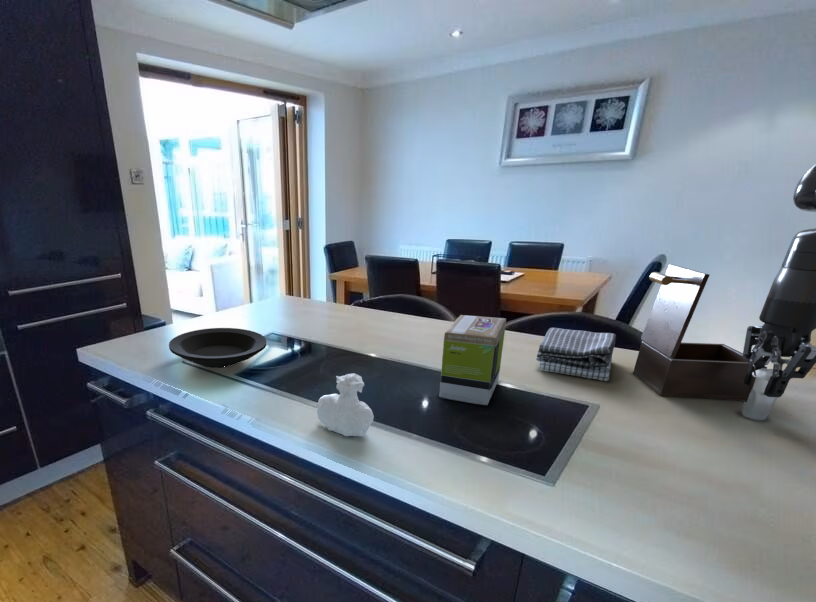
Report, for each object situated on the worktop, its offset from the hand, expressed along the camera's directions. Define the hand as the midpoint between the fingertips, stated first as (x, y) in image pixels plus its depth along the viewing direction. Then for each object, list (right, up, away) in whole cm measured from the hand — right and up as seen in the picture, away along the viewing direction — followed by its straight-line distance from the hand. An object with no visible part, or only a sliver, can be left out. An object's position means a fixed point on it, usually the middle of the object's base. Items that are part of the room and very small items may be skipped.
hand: (761, 390), depth 79 cm
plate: (-105, +7, +38) cm, 112 cm away
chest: (0, +1, +15) cm, 15 cm away
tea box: (-46, 0, +17) cm, 49 cm away
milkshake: (0, -5, +2) cm, 6 cm away
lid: (-7, +16, +10) cm, 20 cm away
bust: (-75, -7, +3) cm, 75 cm away
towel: (-17, +5, +28) cm, 33 cm away
